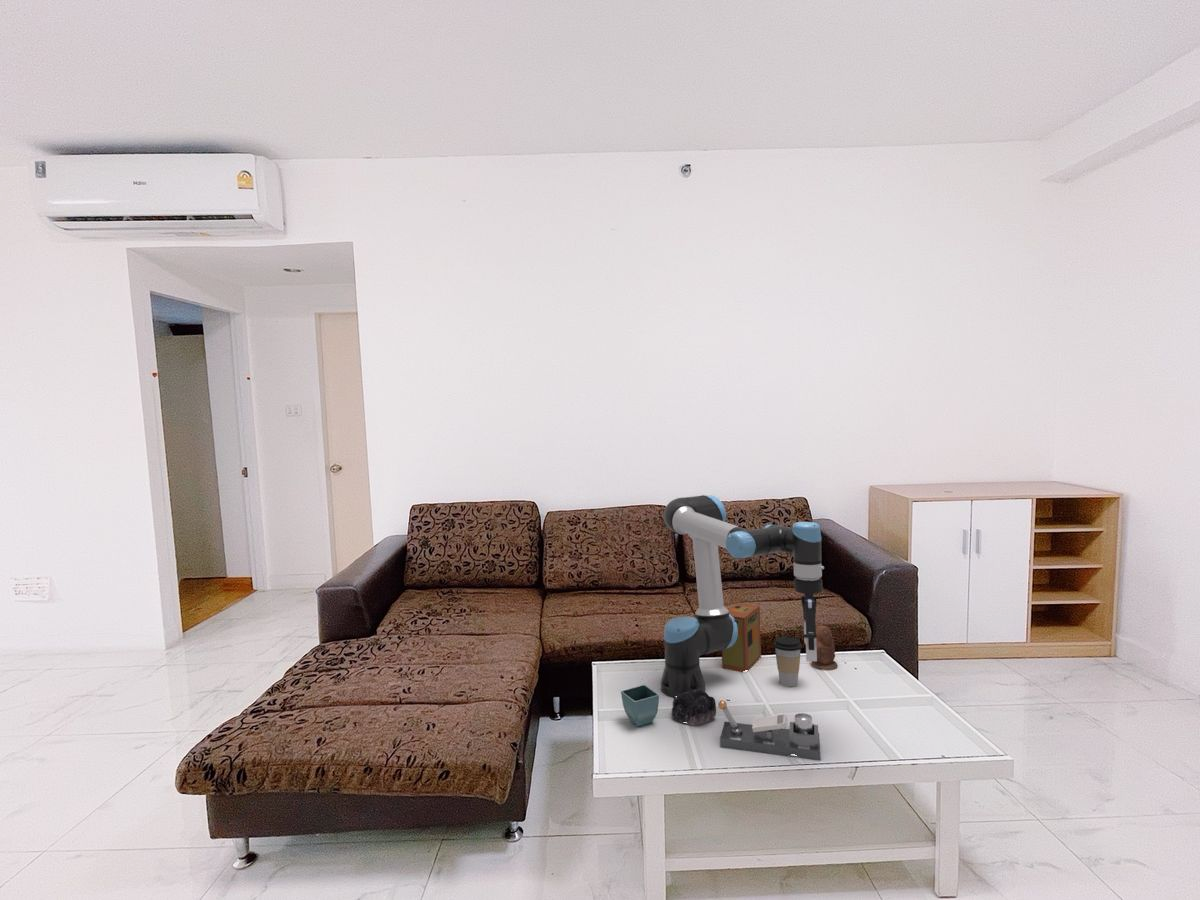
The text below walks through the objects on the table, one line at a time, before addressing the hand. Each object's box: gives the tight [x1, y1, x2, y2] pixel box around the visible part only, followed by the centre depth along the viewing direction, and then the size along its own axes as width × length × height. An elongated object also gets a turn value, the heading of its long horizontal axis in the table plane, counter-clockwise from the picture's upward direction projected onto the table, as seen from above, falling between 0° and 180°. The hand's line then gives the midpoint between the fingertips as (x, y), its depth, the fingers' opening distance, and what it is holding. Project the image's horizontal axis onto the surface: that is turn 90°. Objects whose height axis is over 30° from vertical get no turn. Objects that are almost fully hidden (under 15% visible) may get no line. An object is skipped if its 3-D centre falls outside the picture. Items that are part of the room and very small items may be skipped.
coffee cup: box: [772, 635, 803, 688], centre depth 206 cm, size 9×9×15 cm
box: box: [721, 602, 762, 673], centre depth 225 cm, size 17×9×20 cm, turn 147°
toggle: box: [717, 699, 737, 728], centre depth 170 cm, size 2×2×8 cm
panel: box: [719, 721, 821, 761], centre depth 167 cm, size 26×10×5 cm, turn 71°
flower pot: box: [620, 684, 660, 727], centre depth 182 cm, size 9×9×9 cm
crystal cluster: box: [671, 688, 717, 727], centre depth 184 cm, size 13×14×10 cm
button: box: [794, 712, 813, 735], centre depth 164 cm, size 4×4×4 cm
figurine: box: [810, 625, 838, 671], centre depth 220 cm, size 9×10×15 cm
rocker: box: [752, 713, 788, 732], centre depth 167 cm, size 9×6×1 cm, turn 72°
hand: (810, 651), depth 170 cm, fingers open, 13 cm apart
